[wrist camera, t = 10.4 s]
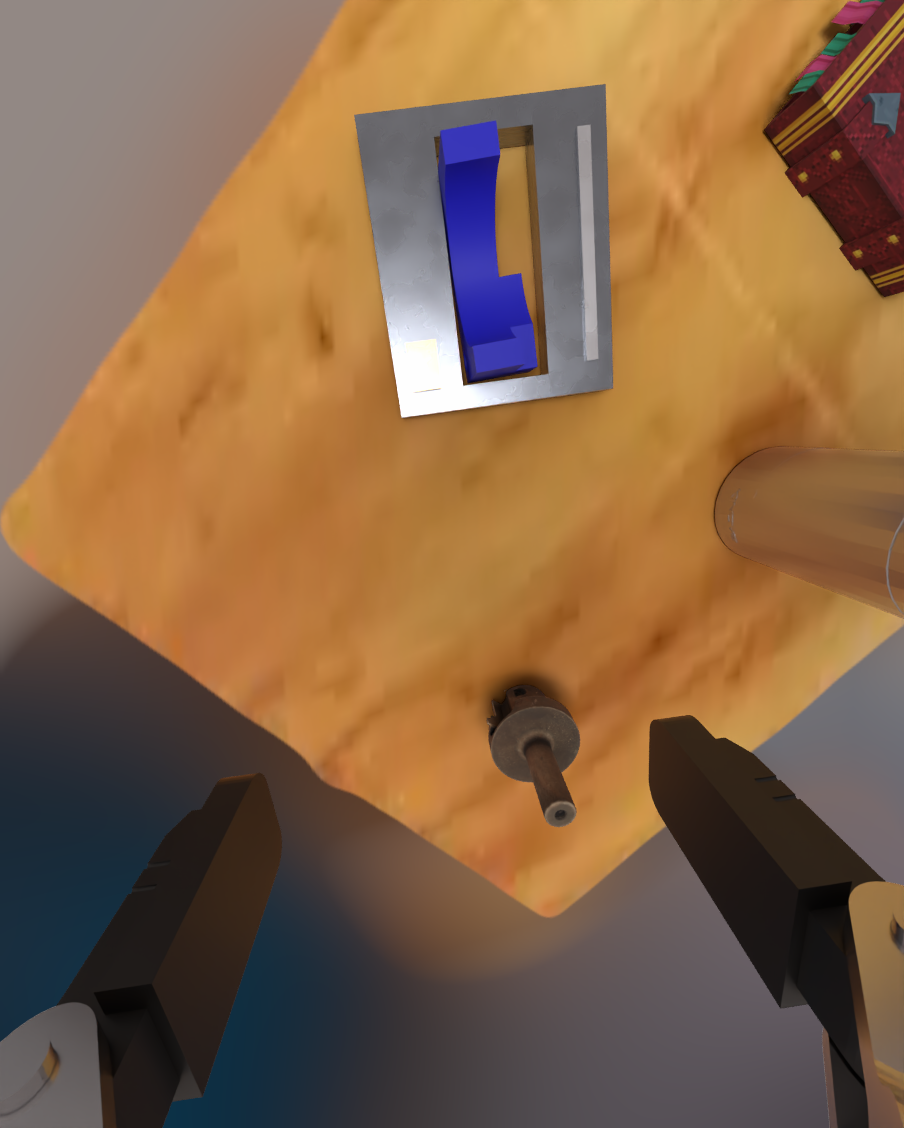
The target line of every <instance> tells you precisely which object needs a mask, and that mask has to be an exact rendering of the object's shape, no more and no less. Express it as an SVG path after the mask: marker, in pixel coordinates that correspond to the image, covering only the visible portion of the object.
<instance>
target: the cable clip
mask: <svg viewBox="0 0 904 1128" xmlns="http://www.w3.org/2000/svg"><path fill="white" fill-rule="evenodd" d="M499 158H500V148H499V140H498V131H497V123H496V121H490V122H485V123H479V124H473V125H468V126H462V127H457V128H451V129H446V130H440V146H439V164H438V176H439V184H440V193H441V202H442V210H443V219H444V227H445V236H446V244H447V253H448V261H449V268H450V275H451V281H452V287H453V294H454V300H455V307H456V313H457V319H458V326H459V332H460V339H461V345H462V351H463V358H464V364H465V371H466V377H467V383H473V382H478V381H484V380H489V379H494V378H500V377H505V376H510V375H516V374H521V373H527V372H529V371H531V370H533V369H534V368H536V367H537V358H536V349H535V340H534V331H533V323H532V321H531V318H530V315H529V312H528V309H527V305H526V300H525V296H524V290H523V284H522V277H521V273H520V274H514V275H509V276H503V277H499V274H498V265H497V254H496V239H495V190H496V177H497V169H498V163H499Z"/></svg>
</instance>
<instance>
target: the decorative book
mask: <svg viewBox="0 0 904 1128" xmlns="http://www.w3.org/2000/svg"><path fill="white" fill-rule="evenodd" d="M831 22H833V23H838V24H843V25H844V24H850V25H852V27H851V28H850V29H849V30H848V31H847V32H846V34H843V33H838V34H837V35H836V36H835V37H834V38H833V40H832V41H831V42H830V43H829V44H828V46H827V47H826V48H825V49H824V50H823V51H822V53H821V54H825V55H820V56H818V57H817V58H816V59H814V60H813V61H812V62H810V64H809V65H808V66H807V67H806V68H805V70H804V71H803V72H802V73H801V74H800V76H799V77H798V78H797V79H796V80H798V79H799V78H801V77H802V76H803V75H804V76H803V78H802V79H801V80H800V81H799V82H798V84H797V85H796V86H795V87H794V88H793V90H792V91H791V92H790V93H789V94H793V93H795V94H794V95H793V96H792V98H791V99H790V100H789V101H788V102H787V103H786V105H785V106H784V107H783V108H782V109H781V111H780V112H779V113H778V114H777V115H776V116H775V118H774V119H773V120H772V121H771V122H770V124H769V125H768V126H767V127H766V128H765V129H764V130H765V131H766V133H767V134H768V136H769V137H770V138H771V140H772V141H773V143H774V144H775V145H776V147H777V148H778V150H779V151H780V152H781V154H782V155H783V156H784V158H785V159H786V161H787V162H788V163H789V165H790V166H791V167H790V168H789V169H788V170H787V171H786V172H785V174H786V176H787V177H788V178H789V180H790V181H791V182H792V184H793V185H794V187H795V188H796V189H797V191H798V192H799V194H800V195H801V196H802V197H804V196H805V195H807V194H809V193H810V194H811V195H812V197H813V198H814V200H815V201H816V202H817V204H818V205H819V207H820V208H821V209H822V211H823V212H824V214H825V215H826V216H827V218H828V219H829V221H830V222H831V223H832V225H833V226H834V228H835V229H836V230H837V232H838V233H839V235H840V236H841V237H842V239H843V240H844V241H845V243H844V244H843V245H842V246H841V247H840V248H839V249H840V250H841V251H842V253H843V254H844V256H845V257H846V258H847V260H848V261H849V263H850V264H851V265H852V267H853V268H854V269H855V270H858V269H860V268H864V269H865V271H866V272H867V274H868V275H869V276H870V278H871V279H872V280H873V282H874V283H875V285H876V286H877V287H878V289H879V290H880V292H881V293H882V294H883V296H884V297H887V296H890V295H893V294H897V293H900V292H904V0H862V1H861V2H860V3H858V2H852V1H848V2H847V3H846V4H845V6H844V7H843V8H842V9H841V10H840V12H839V13H838V14H837V15H836V16H835V18H834V19H833V20H832V21H831ZM796 80H795V81H796ZM795 81H794V82H795ZM789 94H788V95H789Z"/></svg>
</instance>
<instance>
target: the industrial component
mask: <svg viewBox="0 0 904 1128" xmlns="http://www.w3.org/2000/svg"><path fill="white" fill-rule="evenodd" d="M506 690H507V689H506ZM492 705H493V712H494V716H491V718H487V724H488V725H489V744H490V749H491V754H492V757H493V760H494V763H495V764H496V766H497V767H498V769H499V770H500V771H501V772H502V773H504V774H505V775H507V776H508V777H510V778H512V779H515V780H518V781H522V782H534V785H535V789H536V792H537V795H538V798H539V802H540V805H541V808H542V811H543V814H544V817H545V819H546V821H547V822H548V824H550V825H552V826H555V827H563V826H566V825H568V824H569V823H571V822H572V821H573V820H574V818H575V816H576V808H575V805H574V803H573V800H572V798H571V795H570V793H569V790H568V788H567V786H566V783H565V781H564V778H563V776H562V773H561V772H563V771H564V770H565V769H566V768H568V767H569V765H570V764H571V763H572V762H573V761H574V759H575V757H576V755H577V753H578V750H579V746H580V734H579V730H578V728H577V726H576V724H575V722H574V720H573V718H572V716H571V714H570V713H569V711H568V710H567V709H566V708H565V707H564V706H563V705H562V704H561V703H559V702H558V701H556V700H553V699H551V698H547V697H545V695H544V694H543V693H542V692H541V691H540V690H539V689H538V688H535V687H533V686H529V685H520V686H516V687H513V688H511V689H509V690H507V691H506V698H505V701H504V702H503V703H502V704H499V703H497V702H495V701H494V700H492Z"/></svg>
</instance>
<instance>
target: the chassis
mask: <svg viewBox="0 0 904 1128" xmlns="http://www.w3.org/2000/svg"><path fill="white" fill-rule="evenodd" d="M354 116H355V122H356V129H357V135H358V142H359V148H360V154H361V161H362V167H363V173H364V180H365V186H366V192H367V199H368V205H369V212H370V218H371V224H372V231H373V237H374V243H375V250H376V256H377V262H378V269H379V275H380V282H381V288H382V294H383V301H384V307H385V313H386V320H387V326H388V332H389V339H390V345H391V352H392V358H393V364H394V371H395V377H396V383H397V390H398V396H399V402H400V409H401V415H402V418H409V417H416V416H424V415H431V414H438V413H446V412H453V411H460V410H467V409H475V408H482V407H489V406H496V405H504V404H511V403H518V402H525V401H533V400H540V399H547V398H554V397H562V396H569V395H576V394H583V393H591V392H598V391H604V390H608V389H612V388H613V363H612V324H611V284H610V245H609V206H608V167H607V127H606V88H605V84H603V85H595V86H586V87H578V88H570V89H562V90H554V91H546V92H537V93H529V94H521V95H513V96H505V97H497V98H489V99H480V100H472V101H464V102H456V103H448V104H440V105H432V106H423V107H415V108H407V109H399V110H391V111H383V112H375V113H366V114H358V115H354ZM490 121H496V123H497V131H498V140H499V148H508V147H516V146H524V145H525V147H526V161H527V176H528V190H529V205H530V219H531V234H532V248H533V263H534V277H535V292H536V306H537V321H538V336H539V350H540V365H541V375H538V376H531V377H524V378H516V379H509V380H502V381H494V382H487V383H480V384H472V385H465V386H463V381H462V373H461V364H460V356H459V347H458V338H457V330H456V321H455V313H454V304H453V296H452V287H451V279H450V270H449V261H448V253H447V244H446V236H445V227H444V219H443V210H442V202H441V193H440V184H439V176H438V167H437V159H436V156H439V146H440V130H446V129H451V128H457V127H462V126H468V125H473V124H479V123H485V122H490Z"/></svg>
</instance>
